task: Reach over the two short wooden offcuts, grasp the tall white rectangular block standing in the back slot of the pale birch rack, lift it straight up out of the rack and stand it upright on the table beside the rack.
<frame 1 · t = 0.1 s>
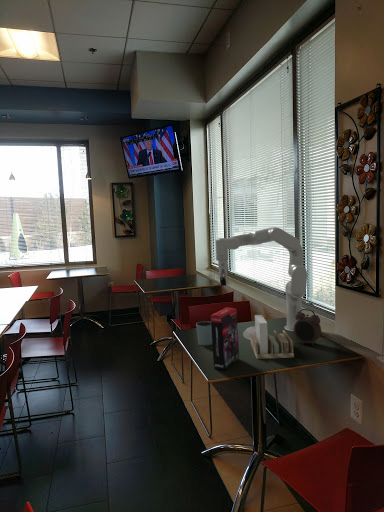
hand: (223, 284, 234), 31 cm above the table, tool pointing down, fingers open, 9 cm apart
graphics card box: (226, 364, 186), on the table
sage offcut: (273, 350, 201), resting in rack
rack: (271, 350, 201), on the table
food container: (257, 337, 225), on the table
grey cylindrical cup: (205, 343, 218), on the table
white rectangular block: (261, 350, 201), resting in rack
alarm clock: (307, 344, 209), on the table
plywood offcut: (283, 350, 201), resting in rack
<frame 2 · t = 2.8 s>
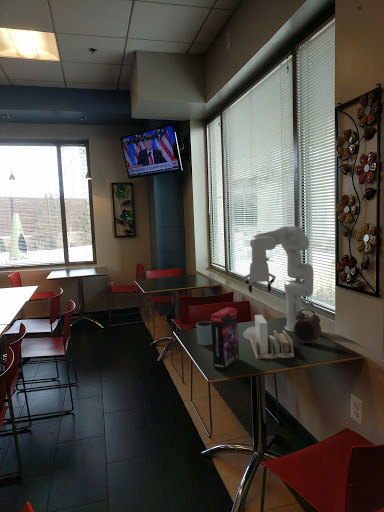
hand: (259, 292, 198), 33 cm above the table, tool pointing down, fingers open, 9 cm apart
nothing on the table moved.
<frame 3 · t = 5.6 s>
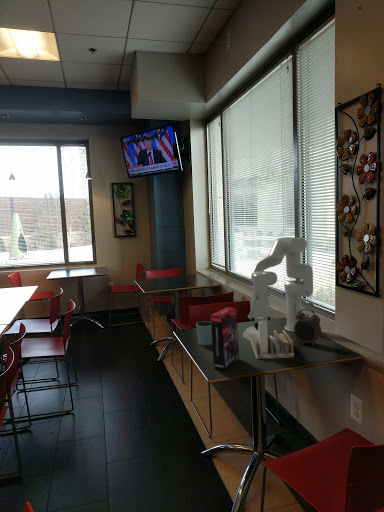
hand: (261, 328, 200), 12 cm above the table, tool pointing down, fingers closed on white rectangular block, 4 cm apart
white rectangular block: (261, 350, 201), resting in rack, touching gripper
everything else where it was.
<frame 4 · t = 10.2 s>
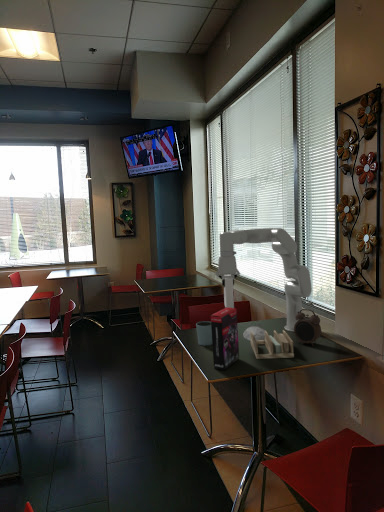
hand: (228, 286, 206), 35 cm above the table, tool pointing down, fingers closed on white rectangular block, 4 cm apart
white rectangular block: (229, 307, 207), point 23 cm above the table, touching gripper
everything else where it was.
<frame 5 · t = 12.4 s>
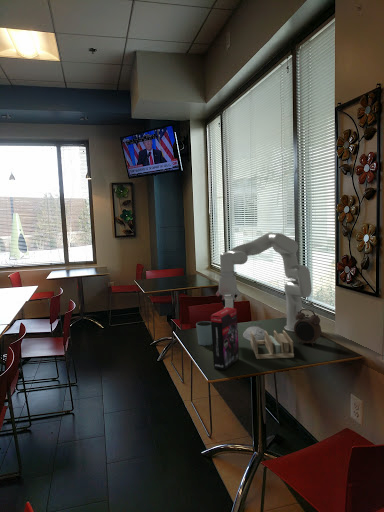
hand: (228, 306, 207), 24 cm above the table, tool pointing down, fingers closed on white rectangular block, 4 cm apart
white rectangular block: (229, 327, 208), point 11 cm above the table, touching gripper
everything else where it was.
when the fingers open (14 cm above the table, at t = 14.7 s): white rectangular block drops 1 cm, on the table.
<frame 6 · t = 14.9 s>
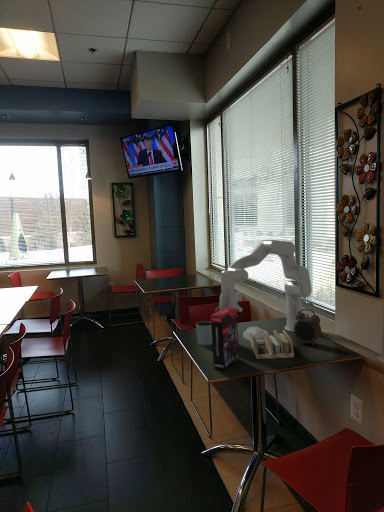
hand: (229, 322, 208), 14 cm above the table, tool pointing down, fingers open, 6 cm apart
white rectangular block: (230, 346, 210), on the table
everything else where it was.
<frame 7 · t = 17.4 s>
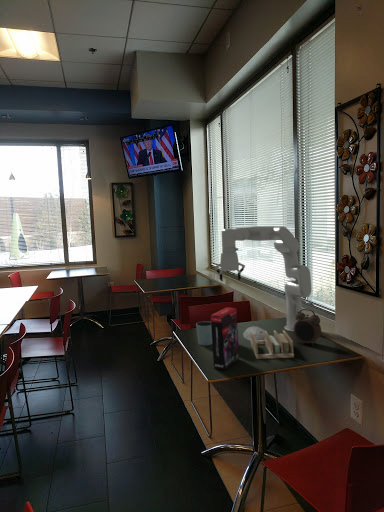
hand: (230, 280, 208), 38 cm above the table, tool pointing down, fingers open, 9 cm apart
nothing on the table moved.
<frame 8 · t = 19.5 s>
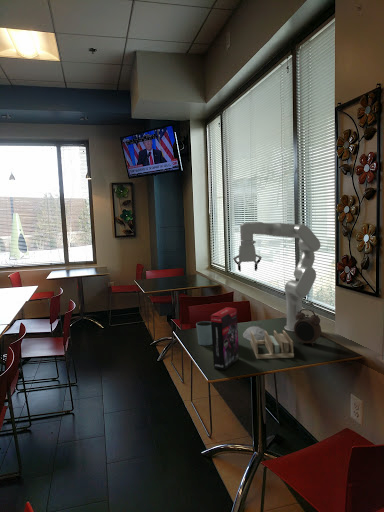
hand: (247, 270, 225), 40 cm above the table, tool pointing down, fingers open, 9 cm apart
nothing on the table moved.
at the end: white rectangular block inside the target area (0.2 cm from its centre), on the table; white rectangular block tilted 0°; the gripper is holding nothing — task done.
